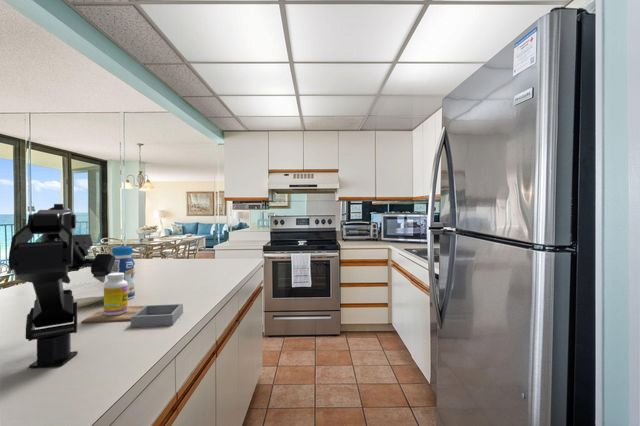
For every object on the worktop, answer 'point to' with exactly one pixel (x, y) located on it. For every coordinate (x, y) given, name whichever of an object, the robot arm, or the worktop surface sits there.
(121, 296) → the supplement bottle
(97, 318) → the tan cardboard sheet
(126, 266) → the beverage bottle
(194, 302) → the worktop surface
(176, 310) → the bin
